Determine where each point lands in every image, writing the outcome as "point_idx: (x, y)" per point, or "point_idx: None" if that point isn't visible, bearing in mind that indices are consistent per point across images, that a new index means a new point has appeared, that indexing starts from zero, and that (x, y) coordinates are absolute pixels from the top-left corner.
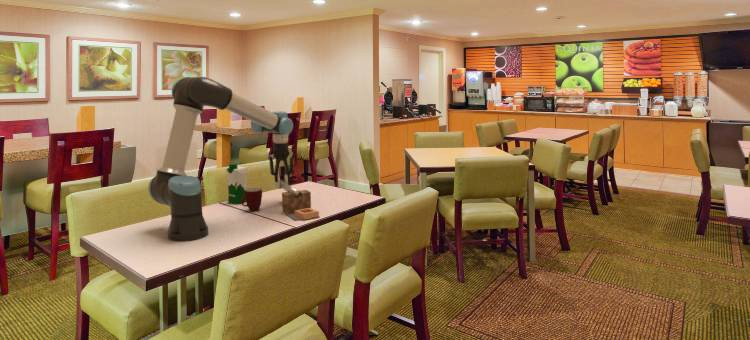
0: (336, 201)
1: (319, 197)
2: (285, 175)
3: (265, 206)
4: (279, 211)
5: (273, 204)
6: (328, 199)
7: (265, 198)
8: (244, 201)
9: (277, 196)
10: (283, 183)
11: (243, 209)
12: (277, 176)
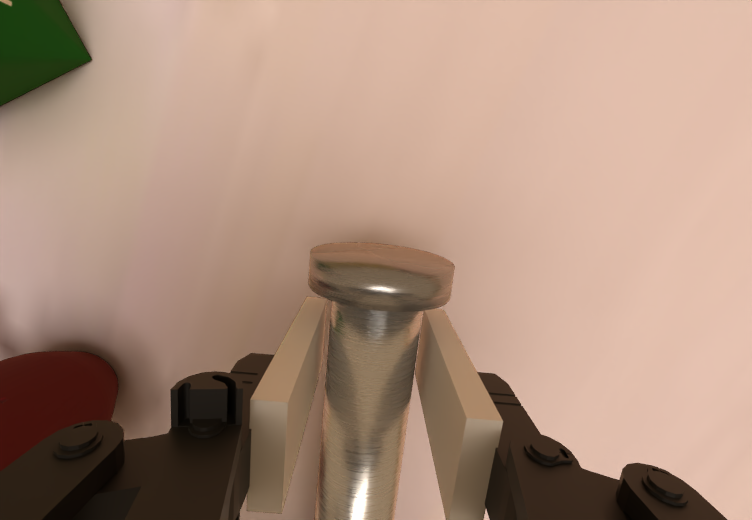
0: (725, 483)
1: (718, 298)
2: (454, 469)
3: (195, 328)
4: (244, 507)
5: (274, 304)
6: (725, 400)
7: (287, 27)
8: (40, 80)
9: (429, 12)
10: (352, 461)
11: (7, 320)
12: (250, 477)
